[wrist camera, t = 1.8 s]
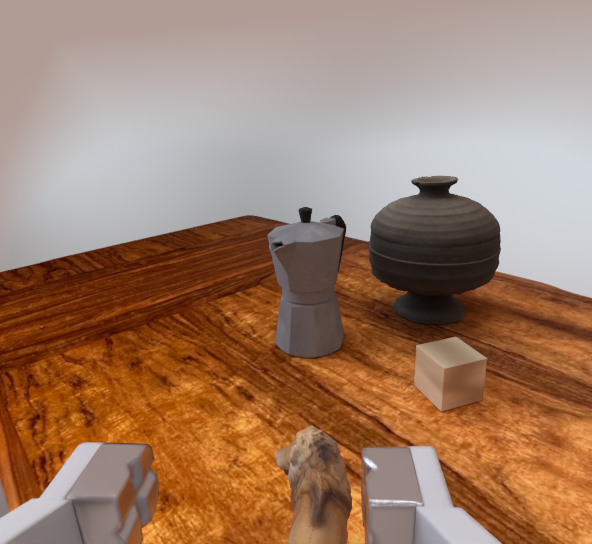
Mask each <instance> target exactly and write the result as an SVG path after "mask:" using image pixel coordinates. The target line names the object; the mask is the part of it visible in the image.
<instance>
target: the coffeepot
mask: <svg viewBox="0 0 592 544" xmlns="http://www.w3.org/2000/svg"><path fill="white" fill-rule="evenodd" d="M311 213H312V209H311V208H308V207H303V208H300V209H299V214H300V218H301V222H298V223H294V224H289V225H285V226H280V227H276V228H275V229H274V230H273V231H271V232H270V233H269V234H268V240H269V244H270V245H269V248H270V251H271V253H272V258H273V263H274V267H275V272H276V276H277V281H278V284H279V285H280V286H281V287H282V297H281V300H280V307H279V315H278V323H277V332H276V340H275V343H276V345H277V346H278V347H279V348H280V349H281V350H282V351H283V352H285V353H287V354H289V355H292V356H295V357H301V358H316V357H322V356H326V355H329V354H331V353H334V352H335V351H337V350H338V349H340V347H341V345H342V341H343V338H344V332H343V326H342V321H341V316H340V311H339V306H338V301H337V295H336V294H335V293H334V285H335V283H336V280H337V275H338V272H339V266H340V261H341V256H342V250H343V243H344V238H345V233H346V225H345V223H344V221H343V220H342V218H341V217H340V216H339V215H334V216H332V217H330V218H325V219H322V220H320V222H321V223H319V222H311V221H310V220H311Z"/></svg>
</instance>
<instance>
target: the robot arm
mask: <svg viewBox="0 0 592 544" xmlns="http://www.w3.org/2000/svg"><path fill="white" fill-rule="evenodd" d="M153 461H154V455H153V450H152V446H150V445H148V444H133V443H93V442H84V443H82V444H80V445H79V446H78V447H77V448H76V449H75V451H74V452H73V453H72V455H71V456H70V457H69V459H68V460H67V461H66V463H65V464H64V465H63V467H62V468H61V470H60V471H59V472H58V474H57V475H56V476H55V478H54V479H53V480H52V482H51V483H50V484H49V486H48V487H47V488H46V490H45V491H44V493H43V494H42V495H41V497H40V498H39V499H31V500H29V501H28V502H26V503H24V504H23V505H21V506H19V507H18V508H16V509H15V510H13V511H11V512H10V513H8V514H6V515H5V516H3V517H2V518H0V544H142V541H143V535H142V528H143V527H144V526H145V525H147V524H148V523H149V522H150V521H151V520H152V518H153V515H154V513H155V510H156V506H157V501H158V496H159V482H158V476H157V474H156V473H155V472H154V471H153V470H152V469H151V468H150V467H151V465H152V463H153ZM361 462H362V473H363V477H362V478H361V492H362V516H363V526H364V527H365V544H502V543H500V542H499V541H498V540H497V539H496V538H495V537H494V536H493V535H491V534H490V533H489V532H488V531H487V530H486V529H485V528H483V527H482V526H481V525H480V524H479V523H478V522H477V521H476V520H474V519H473V518H472V517H471V516H470V515H469V514H468V513H467V512H465V511H464V510H463V509H462V508H455V507H453V504H452V501H451V498H450V495H449V492H448V488H447V485H446V482H445V479H444V476H443V473H442V470H441V466H440V463H439V460H438V457H437V454H436V451H435V449H434V448H433V447H432V446H409V447H362V461H361Z"/></svg>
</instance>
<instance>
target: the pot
mask: <svg viewBox="0 0 592 544" xmlns="http://www.w3.org/2000/svg"><path fill="white" fill-rule="evenodd" d="M457 180H458V178H456V177H451V176H432V177H424V178H423V177H422V178H417V179H414V180H412V184H414V185H416V186H417V187H418V188H419V189H420V193H419V194H418V195H413V196H410V197H405V198H401V199H399V200H397V201H394V202H392V203H390V204H388V205H387V206H386V207H384V208H383V209H382V210H381V211H380V212H379V213H378V214H377V215H376V216H375V218H374V219H373V221H372V223H371V237H370V241H369V243H368V248H369V260H370V263H371V267H372V274H373V275H374V276H376V278H377V279H379V280H380V281H381V282H383V283H386V284H388V285H389V286H390V287H392V288H395V289H397V290H402V291H408V292H407V293H406V294H404V295H402V296H400V297H398V298H397V299H396V301H395V304H394V310H395V312H396V313H397V314H398V315H400V316H401V317H403V318H405V319H407V320H410V321H413V322H417V323H423V324H437V325H438V324H448V323H453V322H456V321H459V320H461V319H462V318H463V316H464V315H465V310H464V306H463V304H462V303H461V302H460V301H459V300H457V299H456V298H454V297H453V296H452V295H451V294H457V295H461V294H462V293H464V292H466V291H470V290H474V289H476V288H478V287H481V286H483V285H485V284H487V283H488V282H490V280H491V279H492V278H493V276H494V274H495V271H496V269H497V267H498V265H499V254H500V250H501V248H500V226H499V223H498V221H497V220H496V219H495V217H494V216H493V214H491V213H490V212H489V211H488V210H487V209H486V208H485V207H483V206H482V205H481V204H480V203H478V202H476V201H473V200H471V199H469V198H466V197H462V196H458V195H454V194H450V193H449V188H450V187H451V185H453V184H455V183H457Z"/></svg>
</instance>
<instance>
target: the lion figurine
mask: <svg viewBox="0 0 592 544" xmlns="http://www.w3.org/2000/svg"><path fill="white" fill-rule="evenodd" d="M275 457H276V459H277V465H278V466H279V468H280V469H282V470H284V472H285V474H286V475H288V479H289V482H290V487H291V507H292V511H293V516H292V526H293V527H292V529H291V532H290V535H289V539H288V543H287V544H347V539H348V533H347V520H348V518H349V515H350V512H351V509H352V498H351V495H350V494H351V488H350V484H349V482H348V480H347V476H346V471H345V469H346V466H345V463H344V461H343V460H342V457H341V455H340V451H339V448H338V447H337V443H336V441H334V440H333V439H332V438H330V437H329V436H328V435H327V434H325V433H324V432H323V431H322V430H319V429H317V428H315V427H314V426H310V427H306V428H305V429H304V430H301V431H299V432H298V433H297V435H296V440H294V441H293V442H292V443H291V444H290V446H287V447H285V448H280V449H279V450H277V451H276V453H275Z"/></svg>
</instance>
